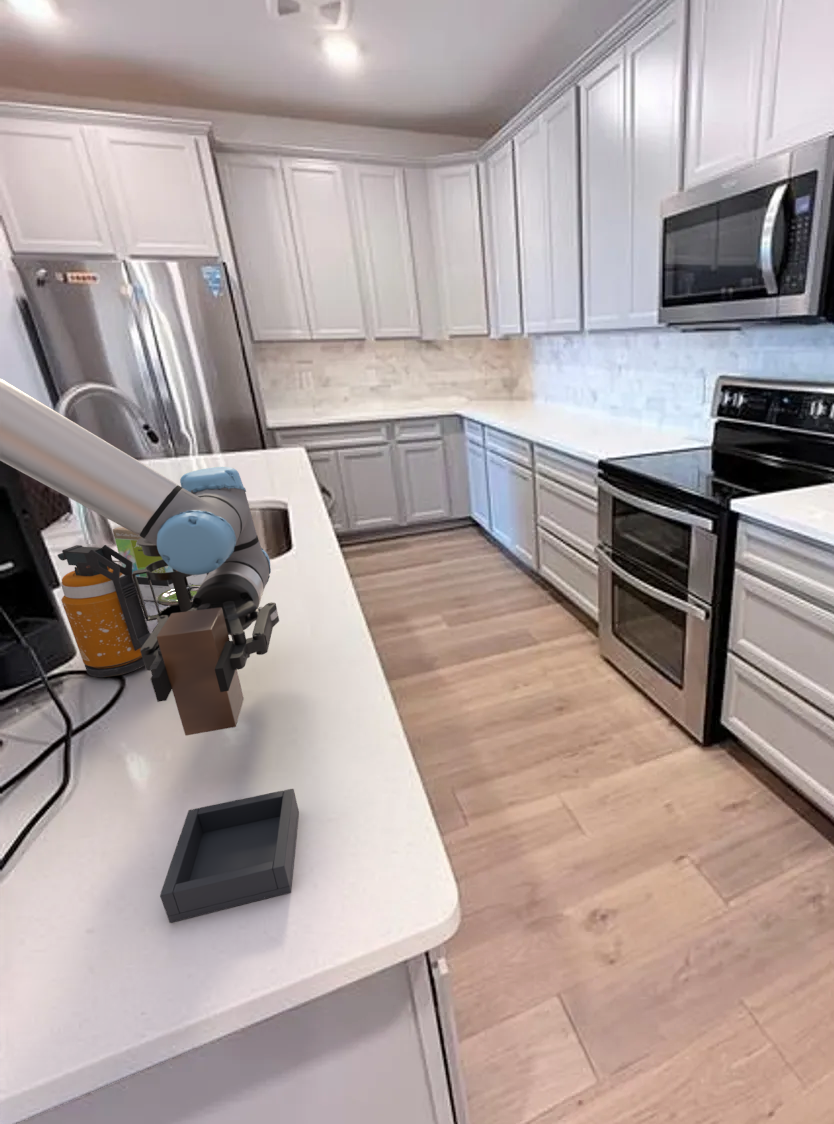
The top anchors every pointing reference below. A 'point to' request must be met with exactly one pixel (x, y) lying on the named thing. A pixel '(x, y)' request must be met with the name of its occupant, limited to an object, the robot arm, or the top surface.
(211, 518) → the robot arm
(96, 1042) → the top surface
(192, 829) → the socket pad
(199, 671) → the brown rectangular block
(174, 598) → the french press
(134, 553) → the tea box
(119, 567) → the canister
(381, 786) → the top surface
